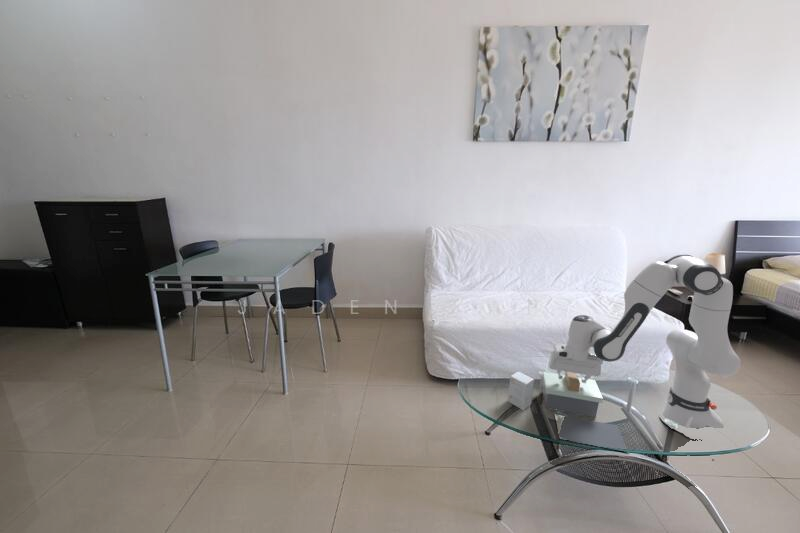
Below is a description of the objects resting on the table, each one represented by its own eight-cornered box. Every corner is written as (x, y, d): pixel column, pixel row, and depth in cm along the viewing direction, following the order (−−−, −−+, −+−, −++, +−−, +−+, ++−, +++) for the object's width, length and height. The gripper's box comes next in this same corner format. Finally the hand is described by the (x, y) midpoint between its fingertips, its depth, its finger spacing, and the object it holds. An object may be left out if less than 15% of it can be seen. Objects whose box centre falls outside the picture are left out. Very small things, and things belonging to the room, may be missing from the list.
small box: (531, 404, 157) (534, 379, 153) (523, 410, 153) (526, 384, 149) (515, 395, 163) (518, 370, 159) (507, 401, 159) (510, 375, 155)
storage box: (589, 400, 161) (592, 382, 159) (595, 417, 150) (599, 398, 147) (542, 391, 166) (545, 374, 164) (545, 407, 155) (548, 389, 153)
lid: (594, 384, 160) (596, 372, 158) (602, 403, 147) (604, 390, 145) (542, 375, 165) (544, 364, 163) (545, 393, 152) (547, 380, 151)
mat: (616, 426, 145) (617, 425, 145) (628, 453, 131) (629, 452, 131) (553, 414, 151) (554, 413, 151) (559, 439, 137) (559, 438, 137)
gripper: (602, 352, 151) (596, 380, 155) (550, 344, 157) (546, 372, 160) (606, 359, 146) (599, 389, 149) (552, 351, 151) (548, 380, 154)
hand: (571, 380), depth 155 cm, fingers open, 8 cm apart
